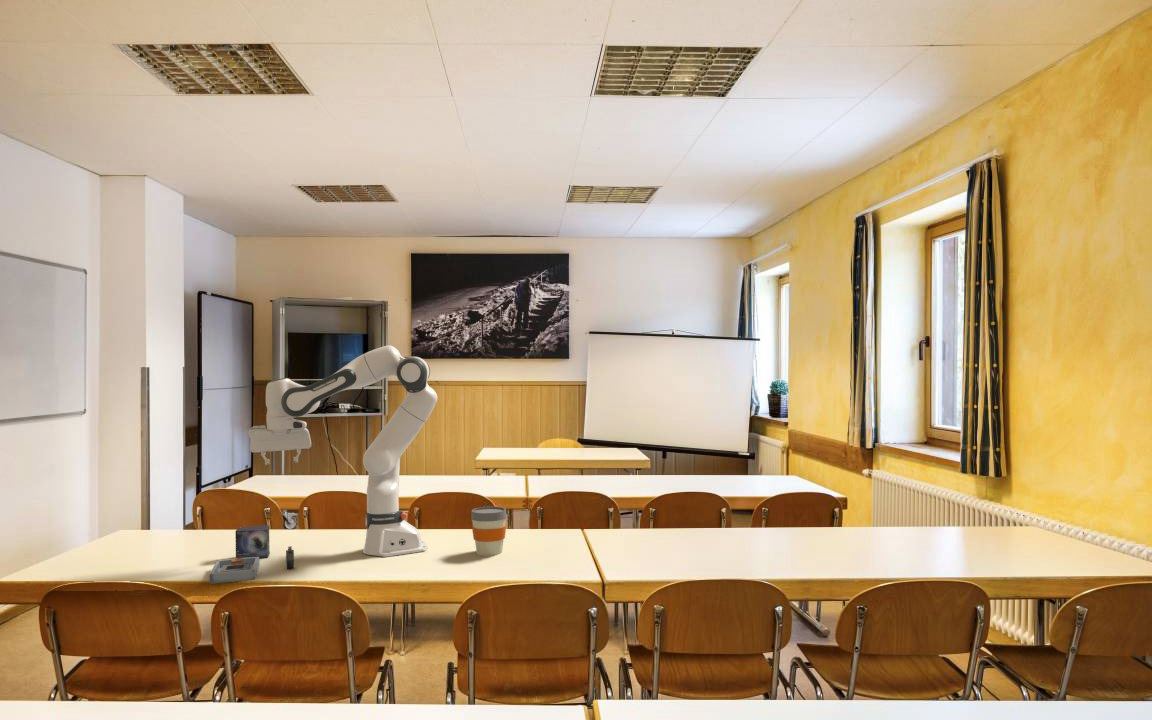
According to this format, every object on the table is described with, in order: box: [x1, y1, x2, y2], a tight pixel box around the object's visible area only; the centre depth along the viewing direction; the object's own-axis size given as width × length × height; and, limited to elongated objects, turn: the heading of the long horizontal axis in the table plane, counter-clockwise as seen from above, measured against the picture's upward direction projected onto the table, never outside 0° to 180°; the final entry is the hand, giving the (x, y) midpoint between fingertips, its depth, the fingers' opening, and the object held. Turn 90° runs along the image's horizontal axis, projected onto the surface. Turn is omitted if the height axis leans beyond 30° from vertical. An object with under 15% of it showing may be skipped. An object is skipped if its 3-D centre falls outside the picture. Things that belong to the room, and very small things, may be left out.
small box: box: [234, 524, 271, 560], centre depth 264 cm, size 11×6×10 cm, turn 105°
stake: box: [285, 546, 295, 571], centre depth 248 cm, size 2×3×7 cm
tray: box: [209, 557, 260, 585], centre depth 243 cm, size 13×18×3 cm
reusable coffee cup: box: [470, 506, 508, 557], centre depth 265 cm, size 13×13×15 cm
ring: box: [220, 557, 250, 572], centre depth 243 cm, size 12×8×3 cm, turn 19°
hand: (281, 463), depth 266 cm, fingers open, 8 cm apart
